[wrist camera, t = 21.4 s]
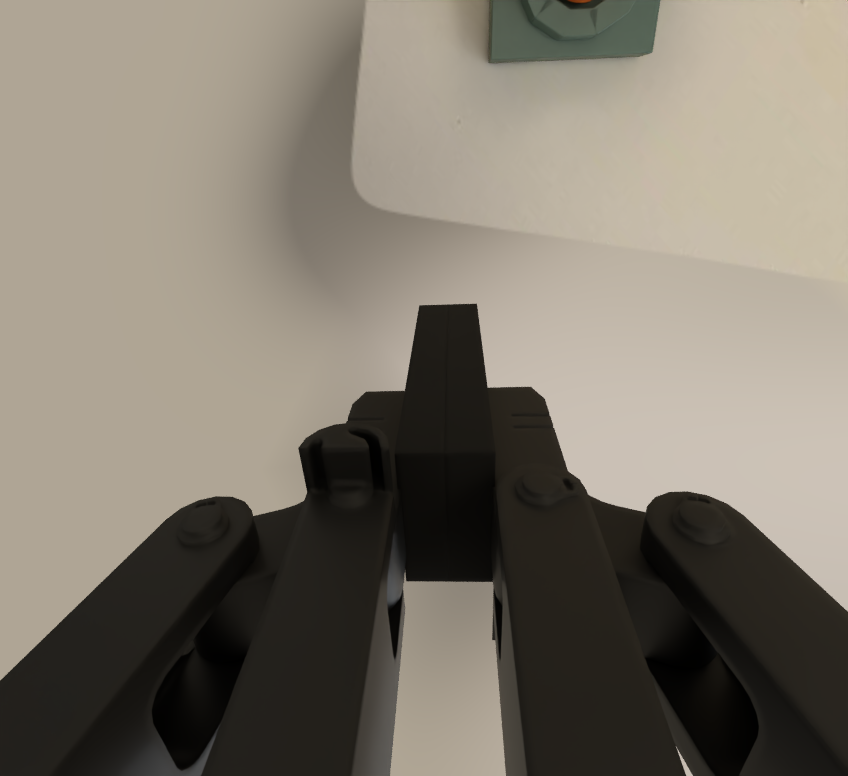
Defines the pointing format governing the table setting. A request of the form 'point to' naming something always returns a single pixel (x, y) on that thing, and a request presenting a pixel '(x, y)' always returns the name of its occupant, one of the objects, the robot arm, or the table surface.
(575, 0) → the button
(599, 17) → the control block
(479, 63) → the table surface
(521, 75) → the table surface
